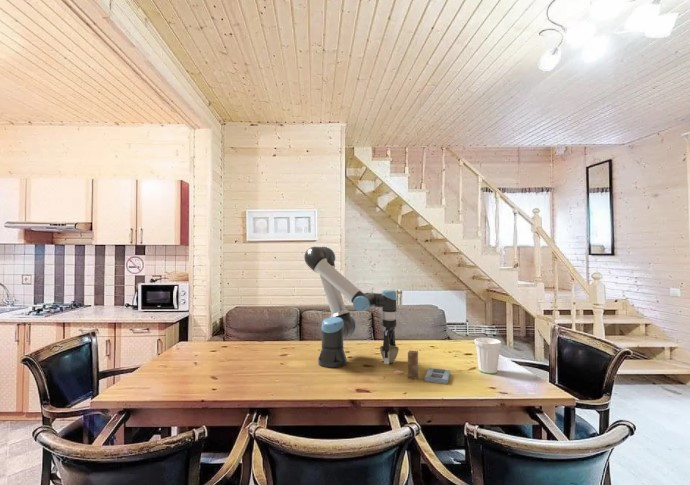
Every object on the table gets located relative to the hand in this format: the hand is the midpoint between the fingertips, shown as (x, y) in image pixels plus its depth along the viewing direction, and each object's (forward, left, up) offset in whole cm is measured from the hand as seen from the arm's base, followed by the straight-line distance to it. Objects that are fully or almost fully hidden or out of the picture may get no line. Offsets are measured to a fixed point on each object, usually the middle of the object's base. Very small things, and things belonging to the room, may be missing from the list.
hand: (389, 360), depth 191 cm
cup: (+49, +6, -1) cm, 49 cm away
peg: (+16, -17, -1) cm, 23 cm away
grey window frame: (+27, -13, -1) cm, 30 cm away
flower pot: (0, 0, 0) cm, 0 cm away
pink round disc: (+8, -13, -1) cm, 15 cm away
